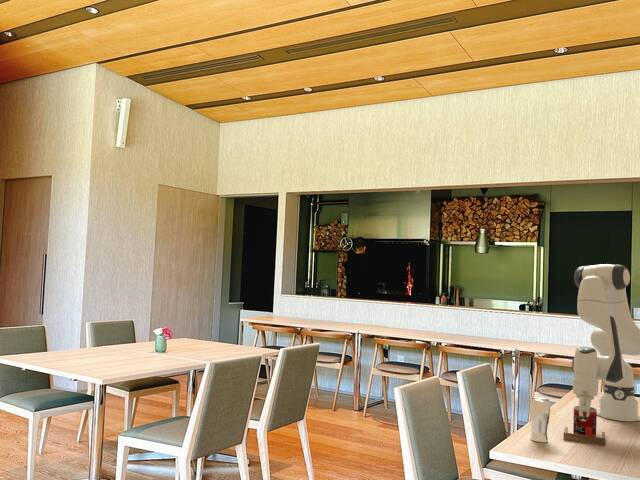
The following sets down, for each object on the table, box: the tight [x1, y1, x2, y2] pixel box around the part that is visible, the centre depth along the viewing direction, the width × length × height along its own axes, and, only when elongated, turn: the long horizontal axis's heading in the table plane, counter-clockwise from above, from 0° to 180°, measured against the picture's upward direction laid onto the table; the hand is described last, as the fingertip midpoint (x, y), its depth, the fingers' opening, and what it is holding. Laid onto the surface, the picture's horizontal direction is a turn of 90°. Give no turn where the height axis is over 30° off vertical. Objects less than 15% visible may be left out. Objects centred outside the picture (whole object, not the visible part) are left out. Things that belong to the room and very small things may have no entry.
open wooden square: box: [563, 426, 606, 447], centre depth 225 cm, size 10×14×2 cm
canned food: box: [572, 405, 598, 437], centre depth 227 cm, size 8×8×11 cm
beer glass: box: [529, 396, 551, 444], centre depth 220 cm, size 7×7×15 cm
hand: (584, 425), depth 233 cm, fingers closed
